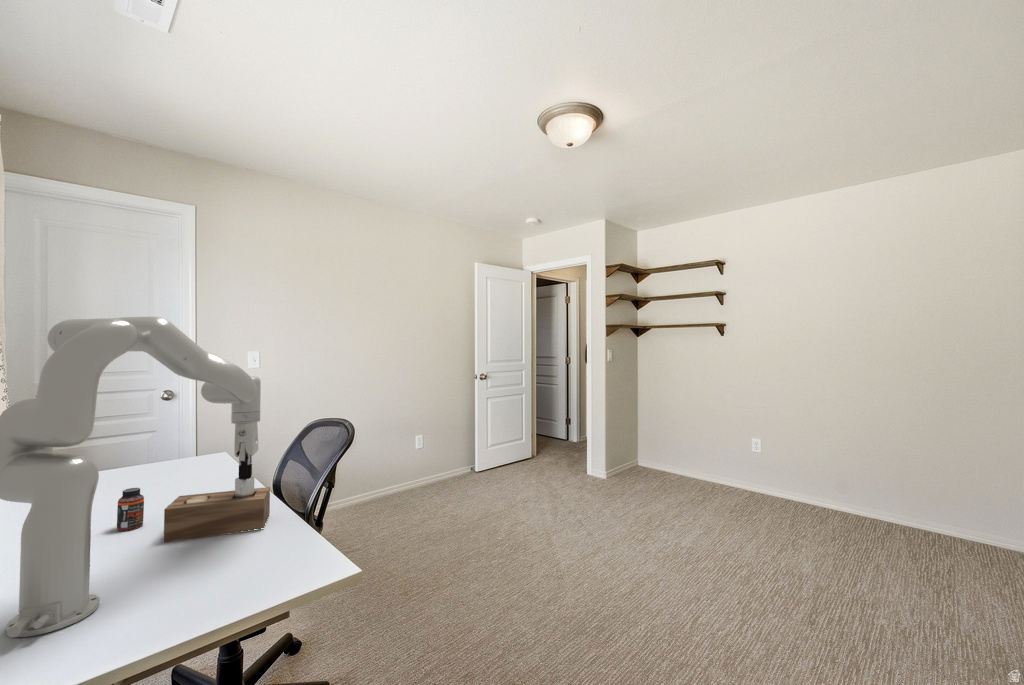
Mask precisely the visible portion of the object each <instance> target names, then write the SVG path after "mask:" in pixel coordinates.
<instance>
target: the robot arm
mask: <svg viewBox="0 0 1024 685" xmlns="http://www.w3.org/2000/svg"><path fill="white" fill-rule="evenodd" d="M46 338H47V345H48V346H49V348H50V349H51V350H52V351H53V353H52V354H51V355H50V356H49V357H48V359H47V360H46V361H45V362H44V365H43V367H42V369H41V372H40V376H39V380H38V386H37V390H36V397H35V398H28V399H22V400H20V401H18V402H17V401H16V402H15V403H13V404H11V405H9V406H8V407H7V408H6V409H5V410H3V412H1V414H0V500H3V501H6V502H11V503H13V502H15V503H22V504H23V503H24V504H31V506H30V509H29V512H28V513H27V515H26V517H25V520H24V522H23V525H22V528H21V533H20V560H19V563H20V564H19V565H20V566H19V588H18V590H19V593H18V594H19V595H18V614H17V615H14V617H12V619H10V620H9V621H8V622H7V623H6V624H5V625H6V626H5V634H6V635H7V637H8V638H13V639H14V638H27V637H34V636H39V635H43V634H48V633H51V632H54V631H58V630H61V629H63V628H66V627H68V626H72V625H73V624H76V623H78V622H80V621H81V620H83V619H85V618H87V617H89V616H90V615H91V614H92V613H94V612H95V611H96V610H97V609H98V607H99V605H100V597H99V596H97V595H95V594H91V593H90V575H91V573H90V571H91V570H90V567H91V540H92V538H91V537H92V510H93V502H94V499H95V495H96V490H97V488H98V484H99V476H100V475H99V474H100V473H99V469H98V467H97V465H96V464H95V463H94V461H93V460H91V459H90V458H88V457H86V456H82V455H78V454H74V453H73V454H72V453H57V452H56V453H55V452H54V448H69V447H74V446H78V445H81V444H82V443H84V442H85V441H87V440H88V439H89V438H90V436H91V435H92V433H93V431H94V426H95V418H96V410H97V408H96V407H97V398H98V389H99V384H100V379H101V376H102V373H103V372H104V371H105V369H106V367H108V366H109V365H110V364H111V363H112V362H113V361H114V360H116V359H118V358H119V357H121V356H123V355H125V354H126V353H128V352H144V353H147V354H148V355H149V356H150V357H152V358H153V359H155V360H157V362H159V363H160V364H161V365H163V366H164V367H166V368H167V369H168V370H170V372H172V373H173V374H176V375H177V376H179V377H183V378H186V379H190V380H193V381H199V382H203V384H202V386H201V389H200V395H201V396H202V399H203V400H205V401H207V402H209V403H212V404H224V405H225V404H231V416H230V417H231V418H230V419H231V424H234V427H235V428H234V443H233V444H234V446H233V447H234V456H235V457H237V458H238V478H239V479H245V478H251V476H253V463H252V459H253V456H254V455H255V454H256V453H257V452H258V450H259V430H258V422H261V385H262V384H261V378H259V377H258V376H251V375H249V374H248V373H247V372H246V371H245V370H244V369H242V367H240V366H238V365H236V364H234V363H233V362H230V361H229V360H226V359H224V358H222V357H220V356H219V355H218V356H217V355H216V354H213V353H211V352H208V351H206V350H205V349H203V348H202V347H200V345H198V344H197V343H196V342H195V341H194V340H192V339H191V338H190V337H189V336H188V335H186V334H185V333H184V332H183V331H181V330H180V329H179V328H178V327H177V326H176V325H175V324H173V323H172V322H171V321H169V320H168V319H165V318H163V317H161V316H160V317H159V316H125V317H110V318H102V317H100V318H72V319H71V318H69V319H65V320H61V321H60V322H57V323H56V324H54V325H53V326H52V327H51V329H50V330H49V331H48V333H47V337H46ZM53 452H54V453H53Z"/></svg>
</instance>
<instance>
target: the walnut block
mask: <svg viewBox="0 0 1024 685" xmlns="http://www.w3.org/2000/svg"><path fill="white" fill-rule="evenodd" d="M199 496H206V497H208V500H207V501H206V502H197V503H188V504H186V501H187V500H188V499H190V498H193V497H199ZM270 498H271V487H270V486H268V487H258V488H257V487H254V497H245V498H235V490H226V491H218V492H217V491H216V492H215V491H214V492H208V493H207V492H204V493H195V494H187V495H179V496H177V497H176V498H175V499H174V500H173V501H172V502H171V503H170V504H168V505H167V506H166V507H164V509H163V510H164V513H163V515H164V516H163V543H169V542H177V541H184V540H190V539H191V540H192V539H193V540H194V539H199V538H205V537H215V536H216V537H217V536H223V535H222V534H224V535H229V534H228V533H232V534H237V533H236V532H240V533H242V532H241V531H247V532H249V531H248V530H254V529H261V528H264V529H265V527H266V525H265V523H266V524H267V522H268V520H267V519H269V518H270V515H269V514H270V509H271V508H270V507H271V499H270ZM268 517H269V518H268ZM266 521H267V522H266ZM264 526H265V527H264Z"/></svg>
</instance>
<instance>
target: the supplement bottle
mask: <svg viewBox="0 0 1024 685" xmlns="http://www.w3.org/2000/svg"><path fill="white" fill-rule="evenodd" d="M144 508H145V496H144V495H143V494H141V488H140V487H131V488H126V489H123V490H122V496H121V497H120V498H119V499H118V501H117V508H116V509H117V510H116V513H117V515H116V530H117V531H120V532H128V531H133V530H136V529H139V528H141V527H142V526H143V525H144V514H145V513H144V512H145V510H144Z"/></svg>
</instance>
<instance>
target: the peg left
mask: <svg viewBox="0 0 1024 685" xmlns="http://www.w3.org/2000/svg"><path fill="white" fill-rule="evenodd" d="M207 500H208V497H206V496H199V497H193V498H190V499H188V500H187V501H186V504H188V503H197V502H206V501H207Z"/></svg>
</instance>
